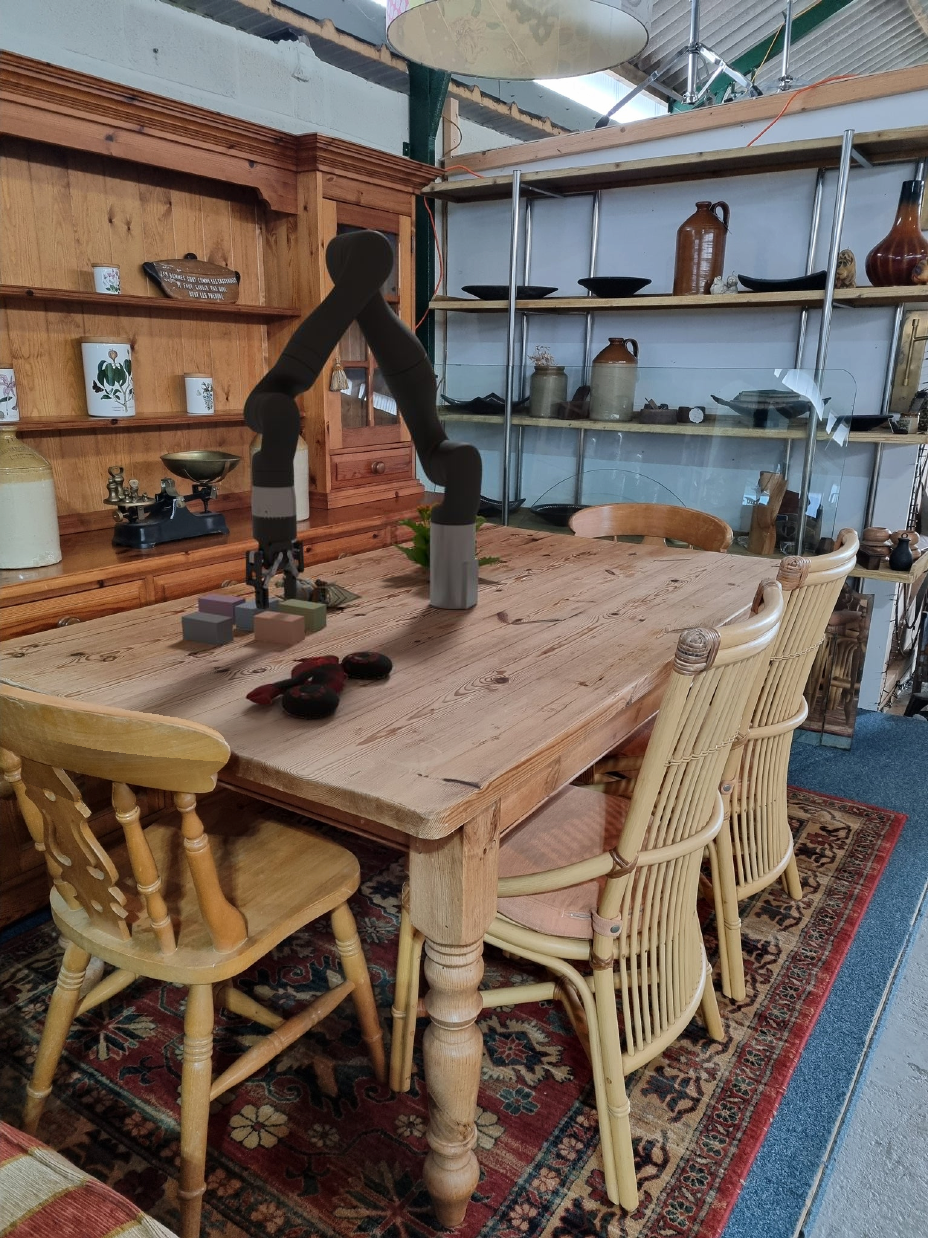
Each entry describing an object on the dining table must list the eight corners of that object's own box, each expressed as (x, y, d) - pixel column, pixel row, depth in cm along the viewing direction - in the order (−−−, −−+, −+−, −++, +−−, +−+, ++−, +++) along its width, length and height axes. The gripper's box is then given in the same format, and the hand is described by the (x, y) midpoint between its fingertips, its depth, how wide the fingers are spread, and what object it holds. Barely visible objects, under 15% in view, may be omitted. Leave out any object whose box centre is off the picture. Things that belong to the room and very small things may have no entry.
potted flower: (519, 571, 212) (521, 500, 207) (475, 591, 192) (477, 512, 187) (430, 560, 223) (430, 492, 218) (380, 578, 203) (379, 503, 198)
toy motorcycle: (398, 679, 141) (312, 652, 146) (402, 650, 139) (315, 623, 144) (319, 740, 119) (221, 706, 123) (323, 706, 117) (223, 673, 122)
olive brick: (326, 627, 164) (326, 604, 163) (313, 632, 161) (313, 609, 160) (292, 621, 168) (291, 598, 166) (279, 626, 164) (278, 603, 163)
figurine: (299, 568, 189) (373, 574, 185) (299, 595, 190) (372, 602, 187) (258, 582, 170) (339, 590, 166) (258, 613, 171) (339, 621, 168)
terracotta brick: (305, 639, 156) (304, 616, 155) (292, 645, 153) (291, 621, 151) (267, 634, 159) (266, 610, 158) (254, 639, 156) (253, 616, 154)
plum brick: (246, 620, 168) (245, 598, 167) (233, 625, 164) (232, 602, 163) (212, 615, 171) (211, 593, 170) (199, 620, 167) (197, 598, 166)
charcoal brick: (233, 641, 155) (232, 617, 153) (218, 647, 151) (216, 623, 150) (199, 634, 158) (197, 611, 157) (183, 640, 155) (181, 616, 153)
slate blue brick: (261, 618, 169) (260, 596, 168) (278, 621, 167) (278, 599, 166) (236, 629, 162) (234, 606, 160) (254, 632, 160) (252, 609, 159)
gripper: (268, 519, 142) (271, 615, 146) (315, 508, 155) (316, 597, 159) (230, 515, 145) (234, 609, 149) (279, 505, 157) (282, 592, 162)
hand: (276, 603), depth 154 cm, fingers open, 8 cm apart
